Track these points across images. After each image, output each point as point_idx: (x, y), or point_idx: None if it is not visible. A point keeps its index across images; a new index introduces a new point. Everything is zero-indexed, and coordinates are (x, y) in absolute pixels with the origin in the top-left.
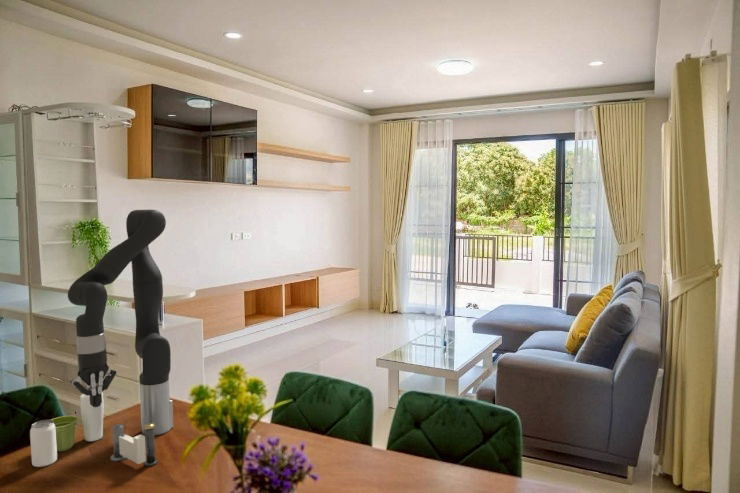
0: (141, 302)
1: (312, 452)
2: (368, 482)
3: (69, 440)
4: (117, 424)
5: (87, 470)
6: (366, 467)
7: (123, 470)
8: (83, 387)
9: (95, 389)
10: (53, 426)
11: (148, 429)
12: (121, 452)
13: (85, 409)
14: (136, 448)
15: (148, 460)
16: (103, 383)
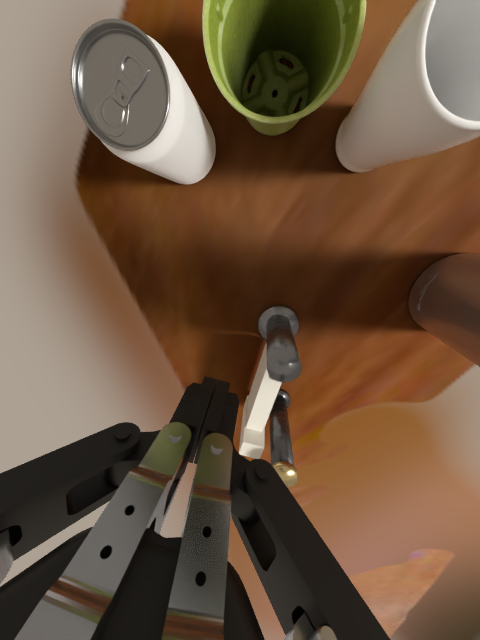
0: None
1: (381, 568)
2: None
3: (273, 129)
4: (292, 358)
5: (205, 303)
6: None
7: (236, 370)
8: (50, 532)
9: (168, 504)
10: (160, 150)
11: None
12: (263, 353)
13: (375, 100)
14: (242, 429)
15: None
16: (267, 510)
